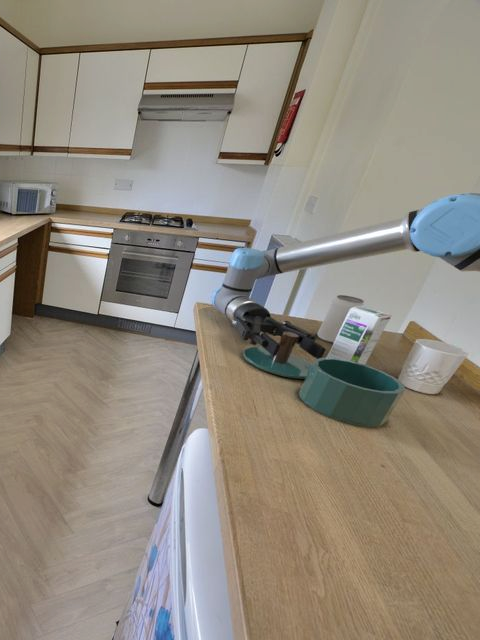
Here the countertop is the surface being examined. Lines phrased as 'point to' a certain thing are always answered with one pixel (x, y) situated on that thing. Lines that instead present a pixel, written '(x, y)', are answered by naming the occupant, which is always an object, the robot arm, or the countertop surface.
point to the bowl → (351, 392)
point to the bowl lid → (280, 358)
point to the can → (337, 316)
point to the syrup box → (359, 334)
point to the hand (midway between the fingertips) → (299, 352)
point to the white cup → (430, 365)
